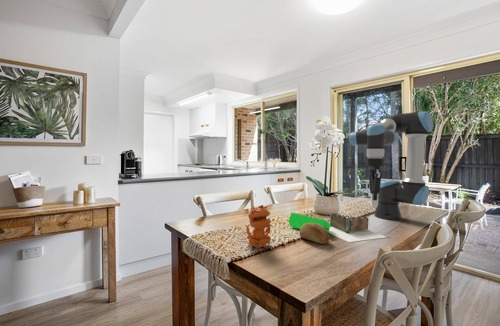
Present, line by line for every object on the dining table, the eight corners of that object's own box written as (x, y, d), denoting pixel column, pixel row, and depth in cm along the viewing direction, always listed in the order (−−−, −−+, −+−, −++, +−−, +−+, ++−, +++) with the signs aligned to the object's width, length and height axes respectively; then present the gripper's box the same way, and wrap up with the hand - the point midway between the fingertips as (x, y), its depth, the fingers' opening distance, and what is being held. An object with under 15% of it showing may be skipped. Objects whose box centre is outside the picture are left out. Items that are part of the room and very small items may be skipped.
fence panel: (350, 231, 128) (351, 218, 128) (348, 231, 129) (349, 217, 129) (368, 229, 133) (368, 216, 133) (366, 228, 134) (366, 215, 134)
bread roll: (320, 248, 108) (321, 229, 107) (293, 238, 119) (294, 221, 119) (333, 243, 114) (334, 225, 113) (306, 234, 125) (307, 218, 125)
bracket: (329, 240, 128) (333, 226, 130) (320, 234, 122) (324, 219, 124) (296, 230, 142) (300, 218, 144) (286, 224, 136) (291, 212, 138)
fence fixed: (332, 225, 141) (332, 211, 140) (346, 232, 130) (347, 217, 129) (329, 225, 140) (329, 212, 140) (343, 232, 129) (344, 217, 129)
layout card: (352, 224, 144) (352, 223, 144) (387, 237, 123) (387, 236, 122) (317, 227, 136) (317, 227, 136) (348, 242, 115) (348, 241, 115)
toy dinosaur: (253, 252, 101) (254, 207, 100) (241, 243, 111) (242, 202, 110) (277, 248, 106) (278, 205, 105) (263, 240, 116) (264, 200, 115)
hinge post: (347, 232, 129) (348, 216, 129) (350, 233, 127) (351, 217, 127) (344, 232, 129) (344, 216, 128) (347, 233, 127) (347, 217, 126)
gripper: (388, 158, 115) (387, 210, 116) (379, 157, 128) (377, 203, 129) (370, 158, 116) (369, 209, 118) (363, 157, 129) (362, 203, 131)
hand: (373, 206), depth 124 cm, fingers closed
